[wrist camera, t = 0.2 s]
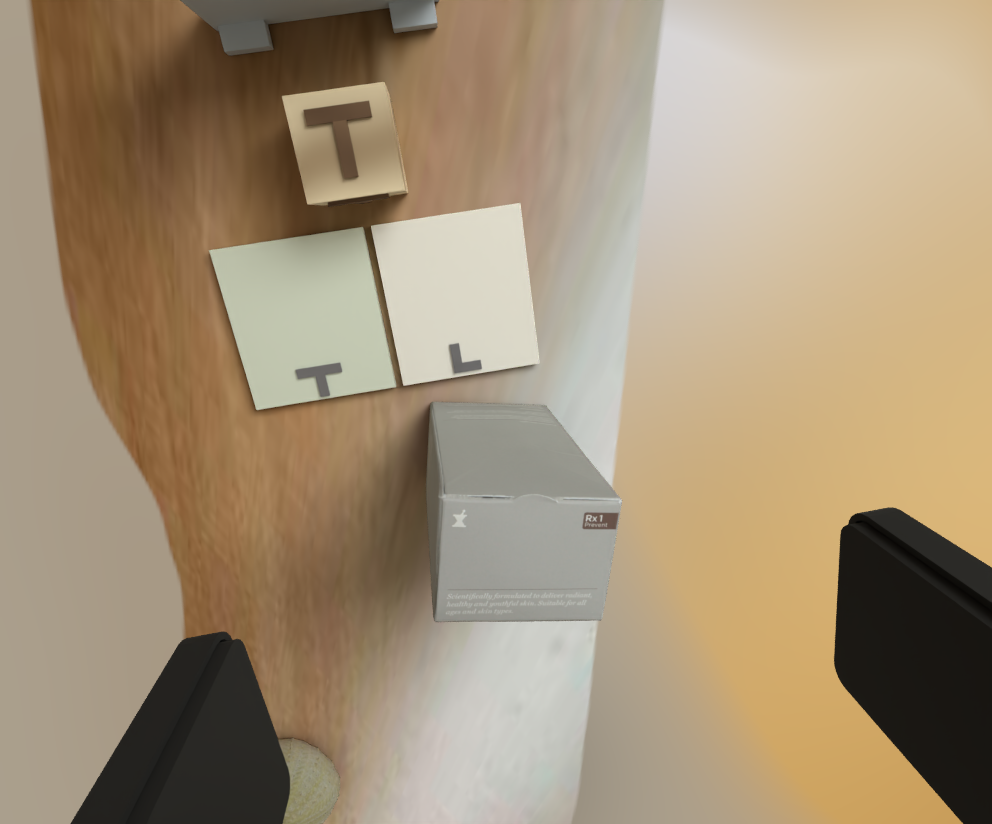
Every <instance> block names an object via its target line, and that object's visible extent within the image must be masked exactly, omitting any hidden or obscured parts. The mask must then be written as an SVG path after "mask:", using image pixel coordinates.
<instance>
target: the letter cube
mask: <svg viewBox="0 0 992 824" xmlns="http://www.w3.org/2000/svg"><path fill="white" fill-rule="evenodd" d="M282 99H283V103H284V107H285V112H286V116H287V120H288V124H289V128H290V133H291V137H292V141H293V145H294V150H295V154H296V158H297V162H298V167H299V171H300V175H301V179H302V183H303V188H304V192H305V196H306V200H307V204H308V205H322V206H326V205H328V207H332V206H338V205H345V204H352V203H357V204H363V203H370V202H372V200H378V199H385V198H390V196H392V195H399V194H405V193H408V189H407V183H406V178H405V172H404V167H403V161H402V156H401V150H400V145H399V139H398V134H397V128H396V123H395V117H394V112H393V106H392V100H391V98H390V95H389V92H388V90H387V87H386V85H385V82H379V83H372V84H365V85H358V86H351V87H343V88H336V89H329V90H322V91H315V92H308V93H301V94H294V95H287V96H282Z"/></svg>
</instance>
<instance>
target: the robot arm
mask: <svg viewBox="0 0 992 824" xmlns="http://www.w3.org/2000/svg"><path fill="white" fill-rule="evenodd" d="M839 556H840V557H839V576H838V595H837V614H836V635H835V654H834V664H835V669H836V672H837V675H838V678H839V679H840V681H841V683H842V684H843V686H844V687H845V688H846V690H847V691H848V692H849V693H850V694H851V695H852V697H853V698H854V699H855V700H856V701H857V702H858V703H859V705H860V706H861V707H862V708H863V709H864V710H865V711H866V713H867V714H868V715H869V716H870V717H871V718H872V720H873V721H874V722H875V723H876V724H877V725H878V726H879V728H880V729H881V730H882V731H883V732H884V733H885V734H886V736H887V737H888V738H889V739H890V740H891V741H892V742H893V744H894V745H895V746H896V747H897V748H898V749H899V751H900V752H901V753H902V754H903V755H904V756H905V757H906V759H907V760H908V761H909V762H910V763H911V764H912V766H913V767H914V768H915V769H916V770H917V771H918V772H919V774H920V775H921V776H922V777H923V778H924V779H925V780H926V782H927V783H928V784H929V785H930V786H931V787H932V788H933V790H934V791H935V792H936V793H937V794H938V795H939V796H940V797H941V799H942V800H943V801H944V802H945V803H946V805H947V806H948V807H949V808H950V809H951V810H952V811H953V812H954V814H955V815H956V816H957V817H958V818H959V819H960V821H961V822H963V824H992V568H991V567H990V566H988V565H987V564H985V563H984V562H982V561H980V560H979V559H977V558H976V557H974V556H972V555H971V554H969V553H968V552H966V551H964V550H963V549H961V548H960V547H958V546H957V545H955V544H953V543H952V542H950V541H949V540H947V539H945V538H944V537H942V536H941V535H939V534H937V533H936V532H934V531H933V530H931V529H930V528H928V527H926V526H925V525H923V524H921V523H920V522H918V521H917V520H915V519H914V518H912V517H910V516H909V515H907V514H906V513H904V512H903V511H901V510H899V509H896V508H884V509H878V510H873V511H868V512H862V513H857V514H855V515H853V516H852V517H851V518H850V520H849V524H848V525H846V526H844V527H843V528H842V530H841V537H840V555H839ZM289 795H290V774H289V770H288V766H287V764H286V761H285V758H284V755H283V752H282V749H281V747H280V744H279V741H278V738H277V735H276V733H275V730H274V727H273V724H272V721H271V719H270V716H269V713H268V710H267V707H266V704H265V702H264V699H263V696H262V693H261V690H260V688H259V685H258V682H257V679H256V676H255V674H254V671H253V668H252V665H251V662H250V660H249V657H248V654H247V651H246V648H245V646H244V644H243V642H242V641H241V640H240V639H235V640H232V638H231V636H230V635H229V634H228V633H227V632H218V633H212V634H207V635H201V636H196V637H191V638H186V639H184V640H182V642H180V644H179V645H178V646H177V648H176V650H175V651H174V653H173V655H172V656H171V658H170V660H169V661H168V663H167V665H166V666H165V668H164V670H163V671H162V673H161V675H160V676H159V678H158V680H157V681H156V683H155V685H154V686H153V688H152V690H151V691H150V693H149V694H148V696H147V698H146V699H145V701H144V703H143V704H142V706H141V708H140V710H139V711H138V713H137V714H136V716H135V718H134V719H133V721H132V723H131V724H130V726H129V728H128V729H127V731H126V733H125V734H124V736H123V738H122V739H121V741H120V743H119V744H118V746H117V748H116V749H115V751H114V753H113V754H112V756H111V757H110V759H109V761H108V762H107V764H106V766H105V767H104V769H103V771H102V773H101V774H100V776H99V777H98V779H97V781H96V782H95V784H94V786H93V788H92V789H91V791H90V792H89V794H88V796H87V797H86V799H85V801H84V802H83V804H82V806H81V807H80V809H79V811H78V812H77V814H76V816H75V817H74V819H73V821H72V822H71V824H283V820H284V816H285V812H286V808H287V804H288V800H289Z"/></svg>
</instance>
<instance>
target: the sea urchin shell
mask: <svg viewBox="0 0 992 824" xmlns="http://www.w3.org/2000/svg"><path fill="white" fill-rule="evenodd" d="M278 741H279V744H280V747H281V749H282V752H283V755H284V758H285V761H286V764H287V766H288V770H289V774H290V795H289V800H288V804H287V808H286V812H285V816H284V820H283V824H322V823H324V821H325V820H326V819H327V818H328V816H329V815H330V814H331V811H332V809H333V807H334V805H335V803H336V801H337V800H338V799H337V798H338V796H339V791H340V777H339V774H338V773H337V771H336V769H335V767H334V764H333V763H332V760H330V759H329V758H327V756H325V755H324V754H323V753H322V752H321V751H320V750H319V749H318V747H314V746H311V745H309V744H308V743H306V742H304V741H302V740H298V739H294V738H291V739H279V740H278Z"/></svg>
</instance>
